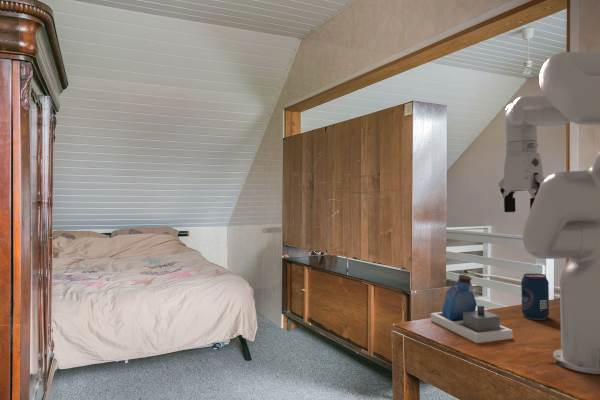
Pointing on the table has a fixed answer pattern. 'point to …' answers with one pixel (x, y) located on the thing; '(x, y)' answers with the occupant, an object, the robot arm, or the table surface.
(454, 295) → the perfume bottle
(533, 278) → the soda can
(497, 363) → the table surface
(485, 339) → the socket strip
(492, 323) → the charcoal plug block
